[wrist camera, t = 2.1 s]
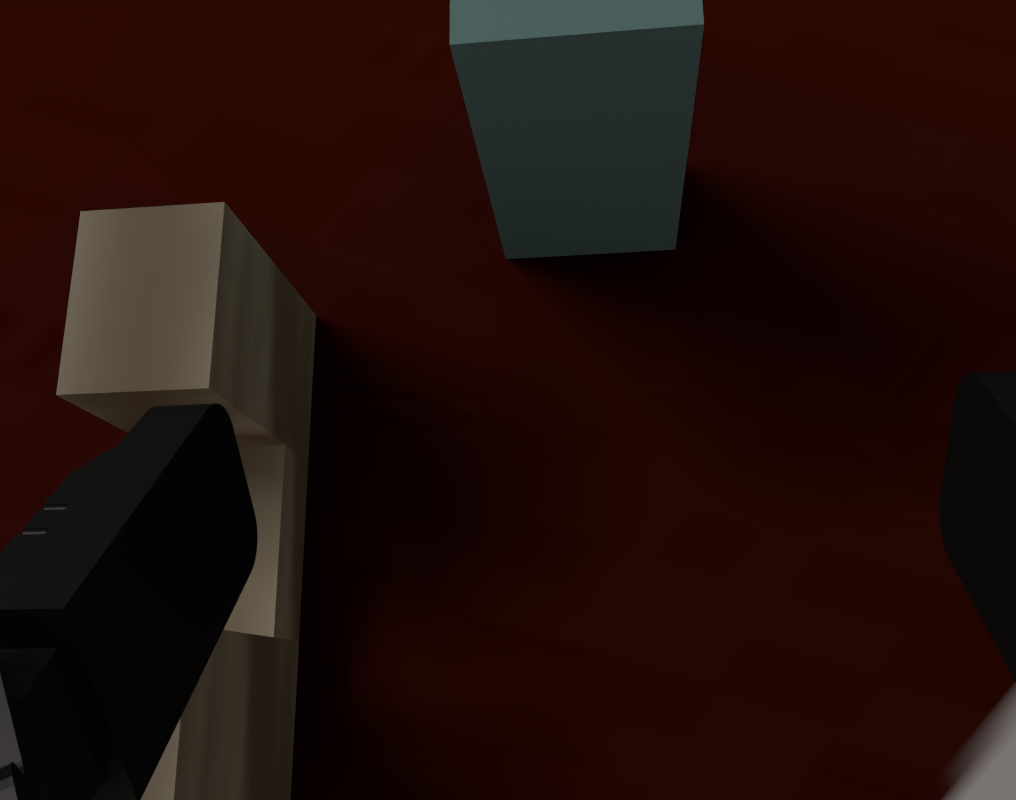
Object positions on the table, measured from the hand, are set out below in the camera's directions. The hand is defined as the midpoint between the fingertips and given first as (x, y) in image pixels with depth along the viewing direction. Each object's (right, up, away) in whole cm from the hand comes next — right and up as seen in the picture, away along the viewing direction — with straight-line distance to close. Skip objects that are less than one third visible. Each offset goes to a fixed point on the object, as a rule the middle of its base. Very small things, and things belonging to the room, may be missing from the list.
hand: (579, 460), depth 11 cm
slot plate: (-8, -3, +16) cm, 18 cm away
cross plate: (+2, +6, +18) cm, 19 cm away
